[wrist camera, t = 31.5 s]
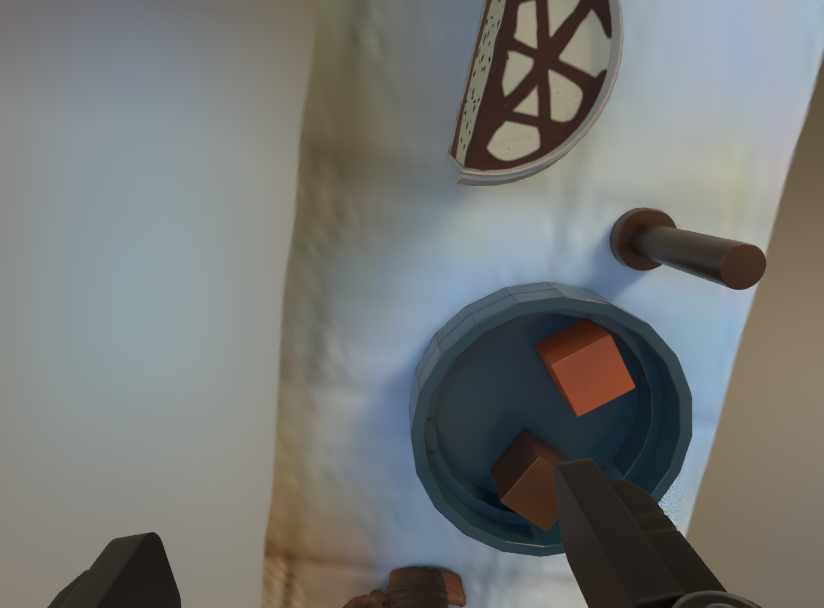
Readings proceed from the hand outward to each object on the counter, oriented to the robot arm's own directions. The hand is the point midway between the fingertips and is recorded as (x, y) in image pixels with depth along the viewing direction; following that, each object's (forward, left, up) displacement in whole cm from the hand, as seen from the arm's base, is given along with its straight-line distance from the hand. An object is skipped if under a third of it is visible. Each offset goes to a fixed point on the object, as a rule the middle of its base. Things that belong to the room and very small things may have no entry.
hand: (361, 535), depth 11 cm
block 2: (+3, +14, -25) cm, 29 cm away
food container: (-13, +6, -26) cm, 30 cm away
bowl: (+7, +12, -26) cm, 29 cm away
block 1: (+11, +12, -25) cm, 30 cm away
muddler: (-6, +16, -26) cm, 31 cm away
